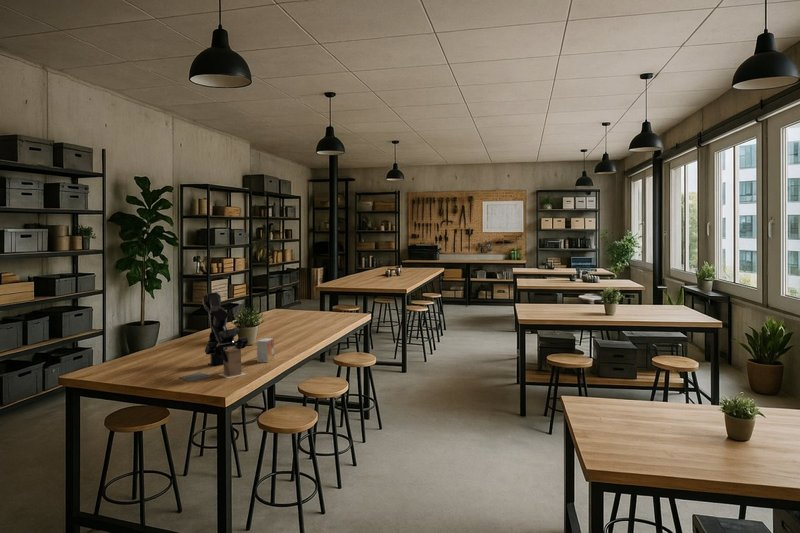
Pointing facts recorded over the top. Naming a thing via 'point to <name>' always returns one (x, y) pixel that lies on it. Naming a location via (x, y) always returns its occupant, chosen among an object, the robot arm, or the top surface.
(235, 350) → the walnut block
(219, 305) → the robot arm
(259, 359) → the small box
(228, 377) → the card
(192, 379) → the rubber mat
